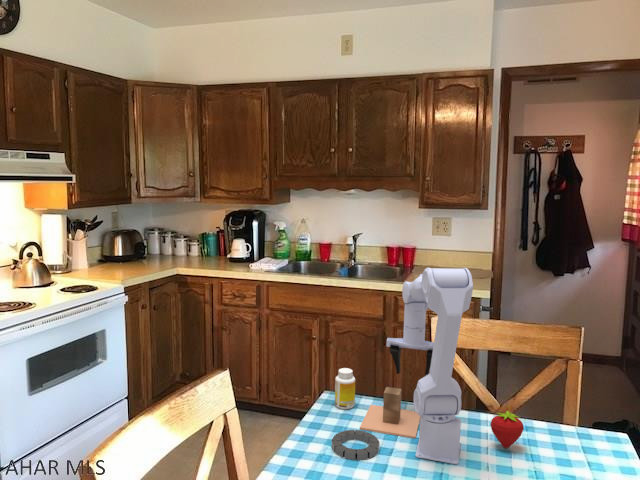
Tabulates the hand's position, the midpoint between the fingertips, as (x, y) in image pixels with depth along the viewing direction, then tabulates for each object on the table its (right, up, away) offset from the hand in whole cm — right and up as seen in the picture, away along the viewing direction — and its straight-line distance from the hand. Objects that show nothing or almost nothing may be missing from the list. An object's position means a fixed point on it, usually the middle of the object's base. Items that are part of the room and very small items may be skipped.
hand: (412, 374), depth 139 cm
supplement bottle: (-18, -10, +4) cm, 21 cm away
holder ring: (-17, -12, -19) cm, 28 cm away
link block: (-6, -11, -6) cm, 14 cm away
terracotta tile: (-6, -11, -5) cm, 14 cm away
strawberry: (+19, -13, -17) cm, 29 cm away
